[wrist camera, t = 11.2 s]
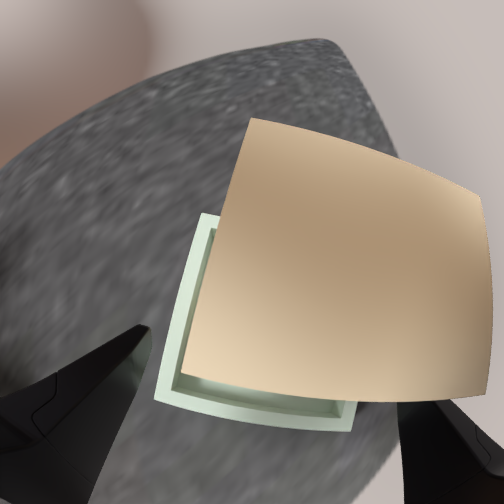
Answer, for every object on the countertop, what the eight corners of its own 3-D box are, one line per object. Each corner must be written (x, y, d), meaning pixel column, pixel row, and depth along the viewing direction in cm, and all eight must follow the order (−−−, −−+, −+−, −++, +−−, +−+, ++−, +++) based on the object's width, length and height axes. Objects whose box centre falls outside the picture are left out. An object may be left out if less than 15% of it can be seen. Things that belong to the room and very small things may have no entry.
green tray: (338, 423, 14) (350, 431, 12) (162, 393, 14) (153, 399, 12) (363, 262, 18) (376, 252, 16) (204, 227, 18) (201, 212, 16)
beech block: (305, 368, 15) (485, 394, 3) (221, 352, 15) (180, 372, 3) (317, 303, 17) (479, 195, 4) (236, 286, 17) (251, 117, 4)
